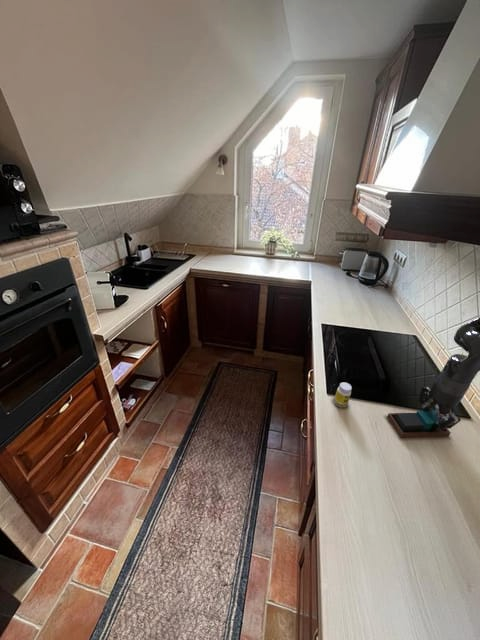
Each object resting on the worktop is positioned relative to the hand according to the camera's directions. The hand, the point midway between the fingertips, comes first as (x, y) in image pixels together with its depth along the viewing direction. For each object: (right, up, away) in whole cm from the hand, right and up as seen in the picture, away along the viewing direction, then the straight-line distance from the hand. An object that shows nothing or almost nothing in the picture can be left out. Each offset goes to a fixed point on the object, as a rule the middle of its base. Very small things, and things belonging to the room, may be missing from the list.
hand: (427, 422), depth 85 cm
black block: (-7, -1, 0) cm, 7 cm away
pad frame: (-3, -2, +1) cm, 4 cm away
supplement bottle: (-26, +4, +9) cm, 28 cm away
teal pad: (0, 0, 0) cm, 0 cm away
